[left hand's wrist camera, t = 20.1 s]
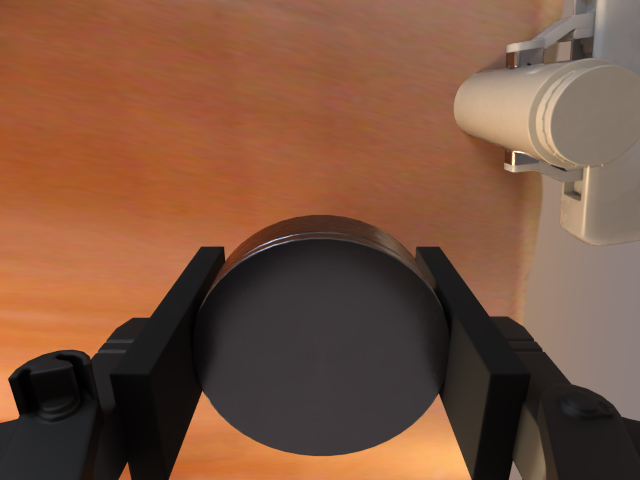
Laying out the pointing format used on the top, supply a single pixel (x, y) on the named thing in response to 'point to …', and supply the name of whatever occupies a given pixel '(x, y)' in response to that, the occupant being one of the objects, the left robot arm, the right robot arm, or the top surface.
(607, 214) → the right robot arm
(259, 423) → the lid
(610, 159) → the screw-top jar
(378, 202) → the top surface
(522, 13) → the top surface
